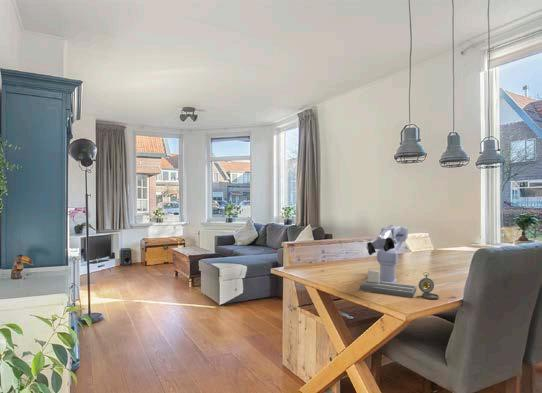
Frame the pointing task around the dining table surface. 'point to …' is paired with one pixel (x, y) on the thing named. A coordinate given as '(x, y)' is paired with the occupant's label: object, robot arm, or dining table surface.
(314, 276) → the dining table surface
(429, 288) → the pocket watch
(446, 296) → the dining table surface
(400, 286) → the fader console
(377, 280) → the fader tab
